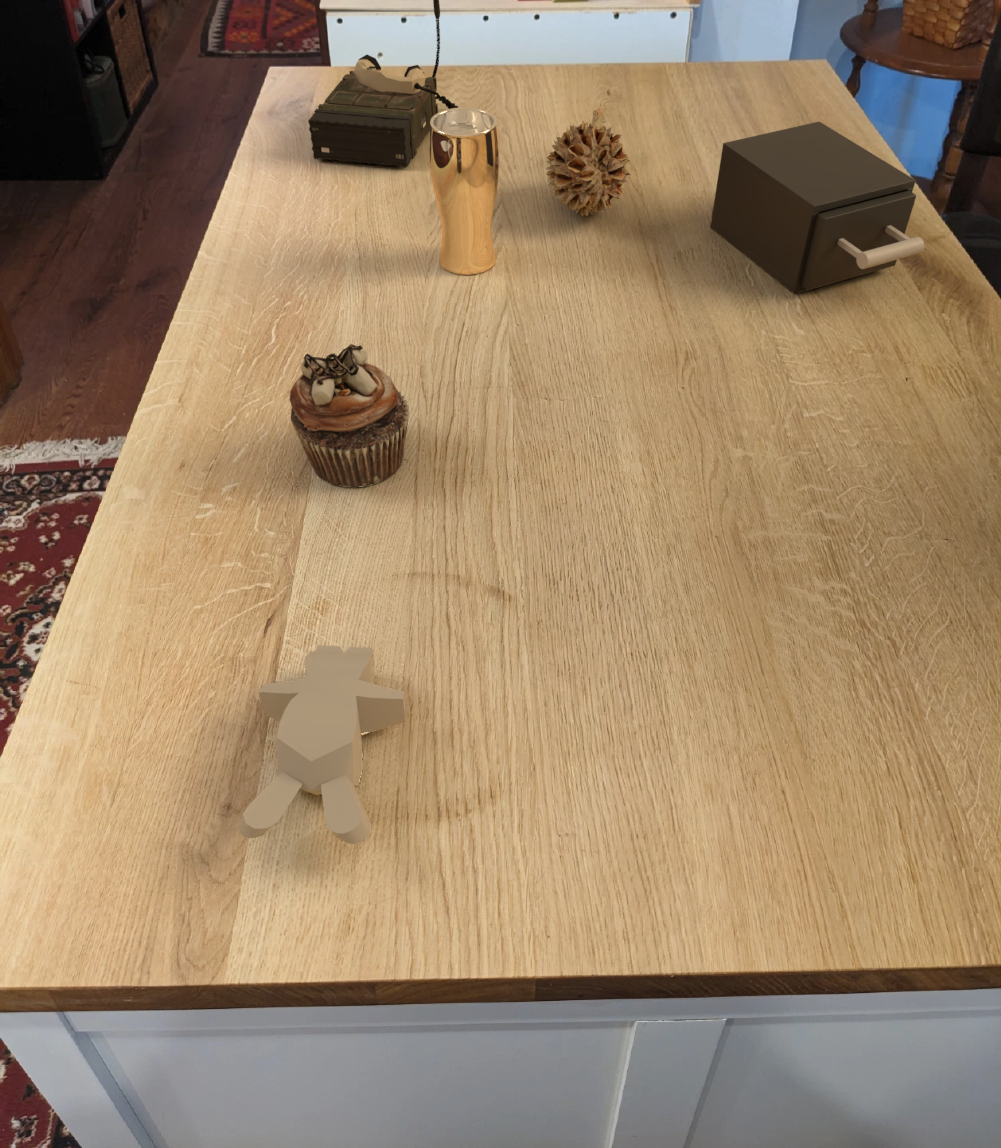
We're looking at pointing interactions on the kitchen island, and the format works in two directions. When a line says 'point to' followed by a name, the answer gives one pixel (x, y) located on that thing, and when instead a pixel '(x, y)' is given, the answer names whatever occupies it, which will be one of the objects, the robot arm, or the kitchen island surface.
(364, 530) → the kitchen island surface
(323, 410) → the cupcake
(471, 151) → the beer glass
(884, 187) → the cabinet
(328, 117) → the radio
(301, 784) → the teddy bear
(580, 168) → the pine cone
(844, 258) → the drawer
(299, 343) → the kitchen island surface
